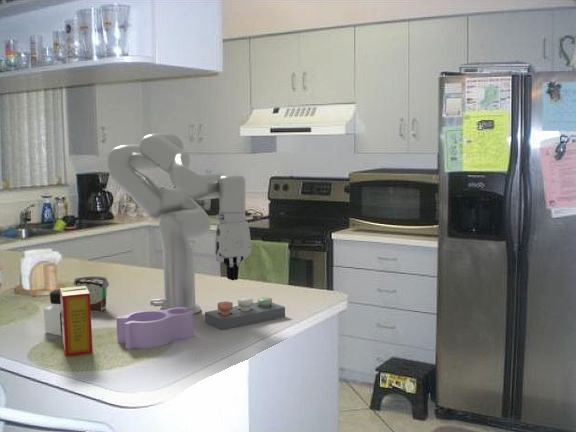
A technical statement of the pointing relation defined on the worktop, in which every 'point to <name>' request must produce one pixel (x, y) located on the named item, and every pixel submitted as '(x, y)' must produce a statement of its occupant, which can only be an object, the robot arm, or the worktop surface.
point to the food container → (95, 291)
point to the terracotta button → (225, 308)
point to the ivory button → (245, 304)
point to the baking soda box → (76, 320)
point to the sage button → (264, 302)
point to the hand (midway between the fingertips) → (232, 279)
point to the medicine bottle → (53, 314)
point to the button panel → (244, 316)
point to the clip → (155, 327)
